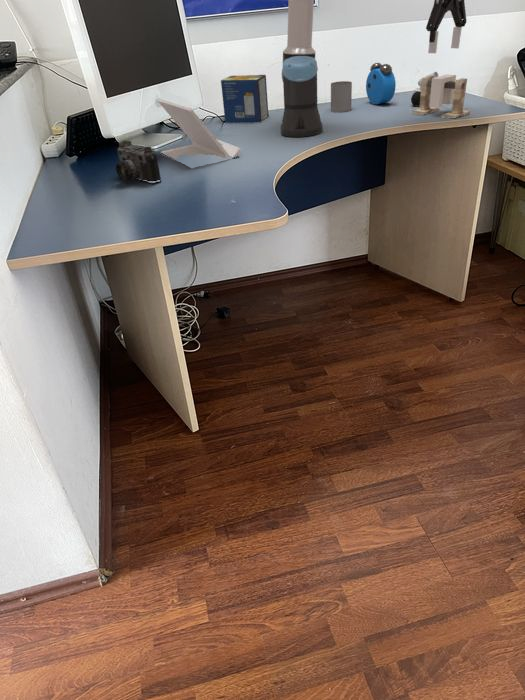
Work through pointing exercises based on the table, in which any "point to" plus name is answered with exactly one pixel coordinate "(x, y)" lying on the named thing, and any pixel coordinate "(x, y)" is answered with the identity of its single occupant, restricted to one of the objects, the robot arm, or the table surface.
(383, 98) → the alarm clock
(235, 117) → the protein box
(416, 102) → the microphone
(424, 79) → the hook stand
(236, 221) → the table surface
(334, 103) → the cup
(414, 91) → the wall hook
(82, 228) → the table surface
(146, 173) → the camera
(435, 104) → the notched white block
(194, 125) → the tablet stand
